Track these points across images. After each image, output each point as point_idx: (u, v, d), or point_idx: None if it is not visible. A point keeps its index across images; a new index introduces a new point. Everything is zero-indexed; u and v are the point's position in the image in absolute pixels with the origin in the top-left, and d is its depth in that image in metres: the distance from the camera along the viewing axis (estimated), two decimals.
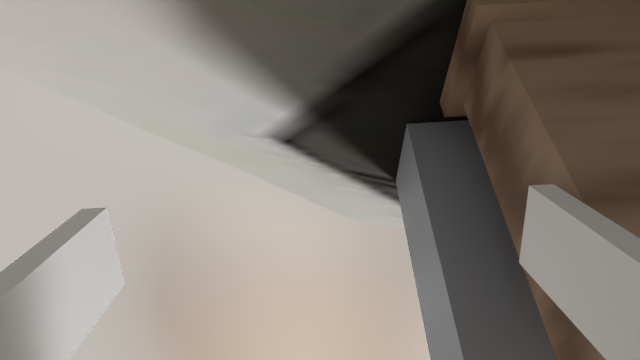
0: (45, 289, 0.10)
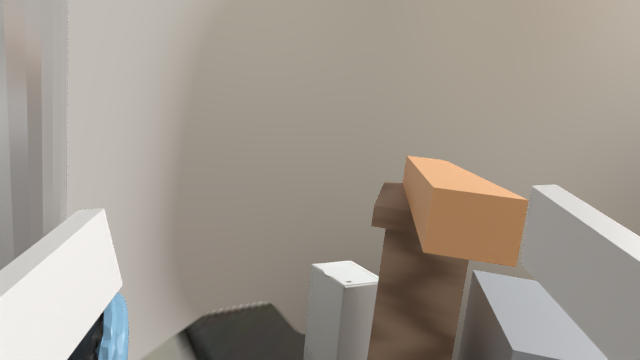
0: (41, 290, 0.10)
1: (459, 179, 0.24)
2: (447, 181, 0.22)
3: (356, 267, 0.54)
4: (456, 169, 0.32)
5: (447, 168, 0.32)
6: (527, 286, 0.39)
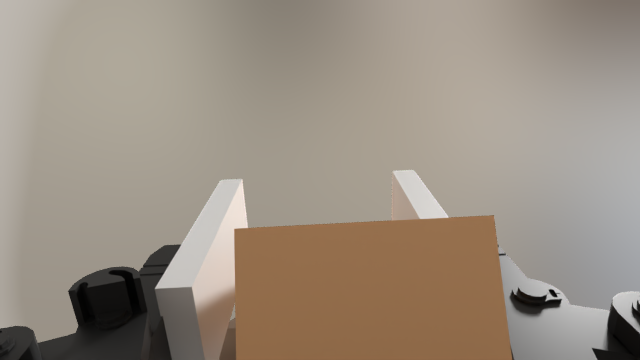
0: (225, 239, 0.12)
1: None
2: None
3: None
4: None
5: None
6: None
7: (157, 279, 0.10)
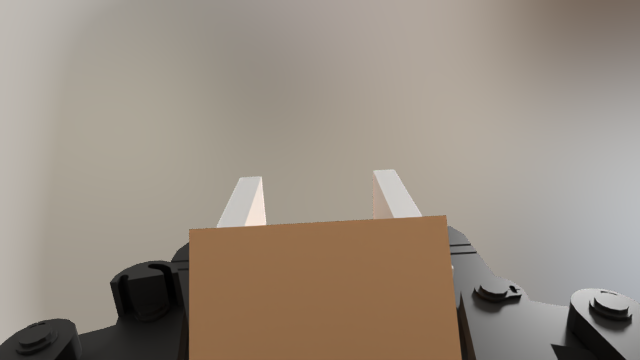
0: None
1: None
2: None
3: None
4: None
5: None
6: None
7: (186, 274, 0.10)
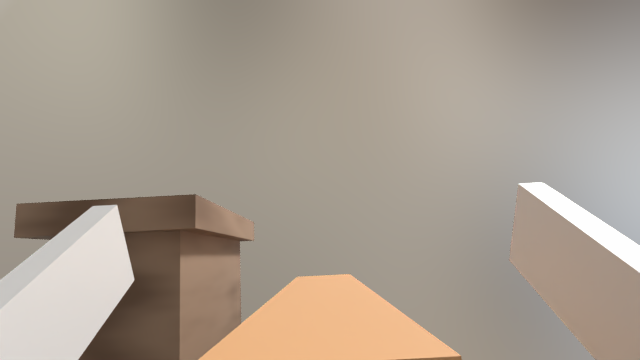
0: (59, 283, 0.10)
1: (325, 311, 0.12)
2: (284, 325, 0.09)
3: None
4: (348, 286, 0.20)
5: (334, 287, 0.20)
6: None
7: None
